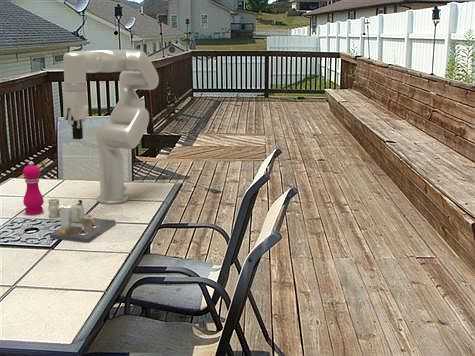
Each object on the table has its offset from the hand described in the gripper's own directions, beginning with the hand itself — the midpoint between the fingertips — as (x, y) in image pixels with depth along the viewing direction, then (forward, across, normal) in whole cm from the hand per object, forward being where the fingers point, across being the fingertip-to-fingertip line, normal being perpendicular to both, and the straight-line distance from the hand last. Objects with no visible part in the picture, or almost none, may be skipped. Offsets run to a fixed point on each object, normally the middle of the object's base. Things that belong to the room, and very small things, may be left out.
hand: (77, 138), depth 210 cm
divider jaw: (+27, +15, +9) cm, 32 cm away
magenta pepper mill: (+29, +3, -18) cm, 35 cm away
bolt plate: (+29, +16, +10) cm, 35 cm away
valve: (+30, +4, -4) cm, 30 cm away
